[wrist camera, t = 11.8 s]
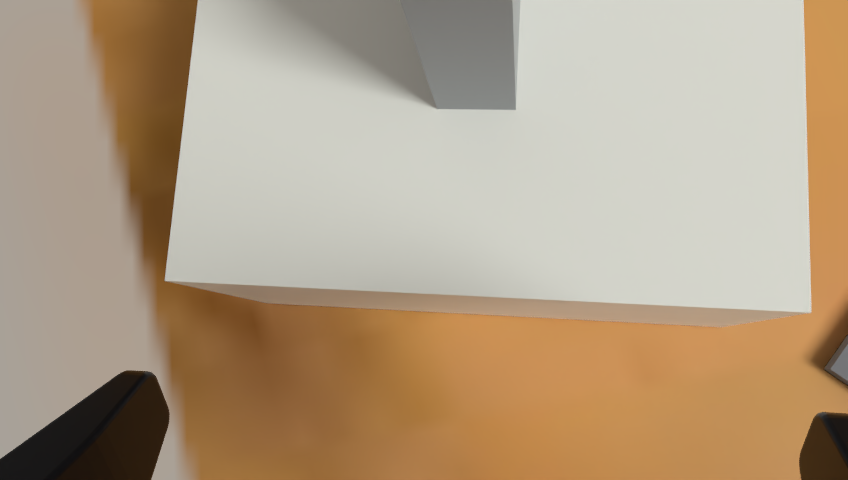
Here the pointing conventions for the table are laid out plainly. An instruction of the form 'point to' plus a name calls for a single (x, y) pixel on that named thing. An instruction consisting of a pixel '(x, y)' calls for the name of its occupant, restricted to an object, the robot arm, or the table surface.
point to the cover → (499, 158)
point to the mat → (839, 362)
